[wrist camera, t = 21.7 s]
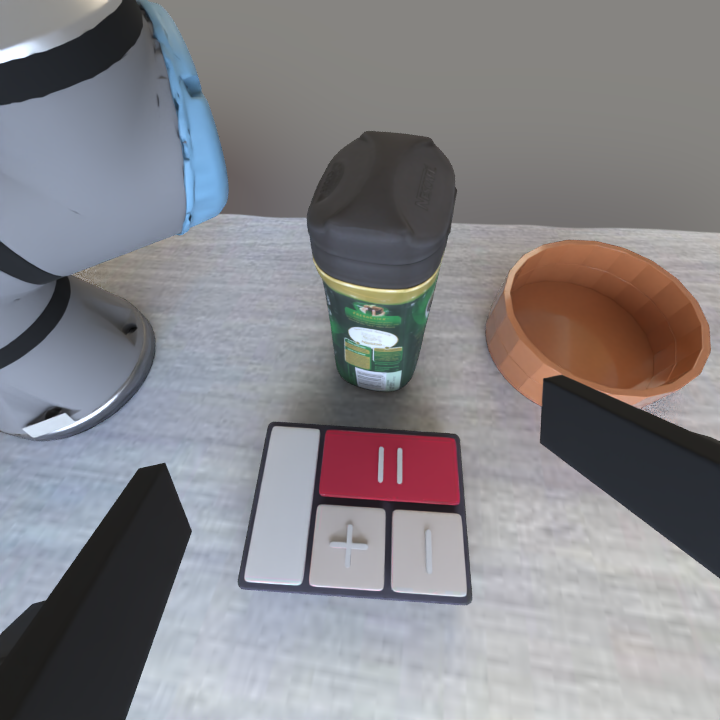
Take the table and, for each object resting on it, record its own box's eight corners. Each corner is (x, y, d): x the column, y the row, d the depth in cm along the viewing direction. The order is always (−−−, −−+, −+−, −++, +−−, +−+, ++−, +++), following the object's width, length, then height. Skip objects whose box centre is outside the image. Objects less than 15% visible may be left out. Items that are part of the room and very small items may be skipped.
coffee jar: (351, 304, 36) (334, 108, 19) (425, 317, 35) (472, 121, 18) (326, 385, 31) (277, 221, 15) (409, 403, 30) (454, 246, 14)
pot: (467, 381, 31) (485, 352, 26) (503, 263, 38) (523, 222, 33) (656, 448, 28) (716, 429, 23) (659, 305, 35) (706, 267, 30)
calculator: (477, 608, 20) (231, 591, 20) (457, 597, 24) (250, 582, 24) (462, 430, 25) (266, 417, 25) (448, 444, 29) (277, 433, 29)
